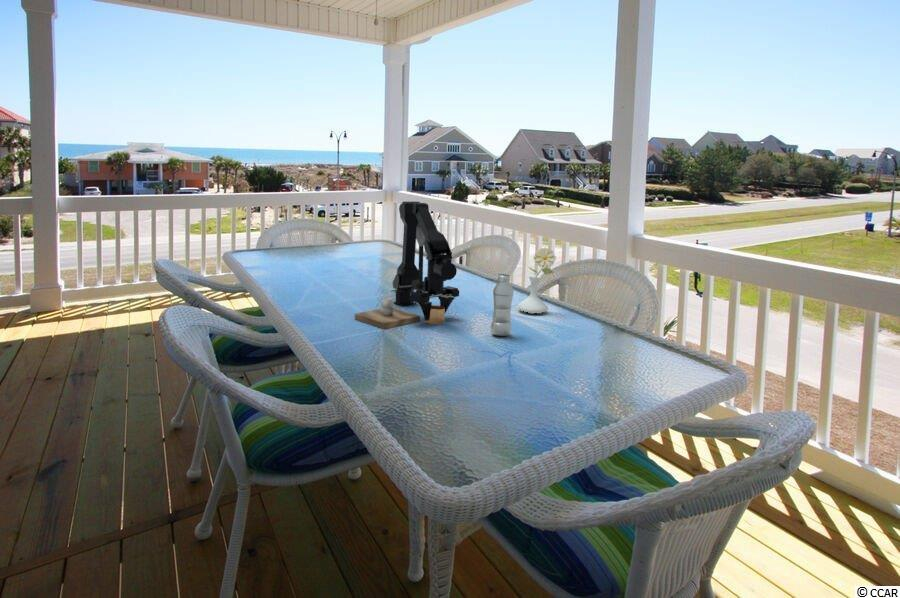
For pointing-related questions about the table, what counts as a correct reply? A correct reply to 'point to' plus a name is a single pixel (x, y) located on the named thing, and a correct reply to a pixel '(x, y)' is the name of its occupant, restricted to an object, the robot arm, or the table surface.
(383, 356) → the table surface
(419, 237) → the solar garden light
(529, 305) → the flower in vase
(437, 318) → the brown octagonal cup
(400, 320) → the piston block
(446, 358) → the table surface
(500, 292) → the plastic bottle
